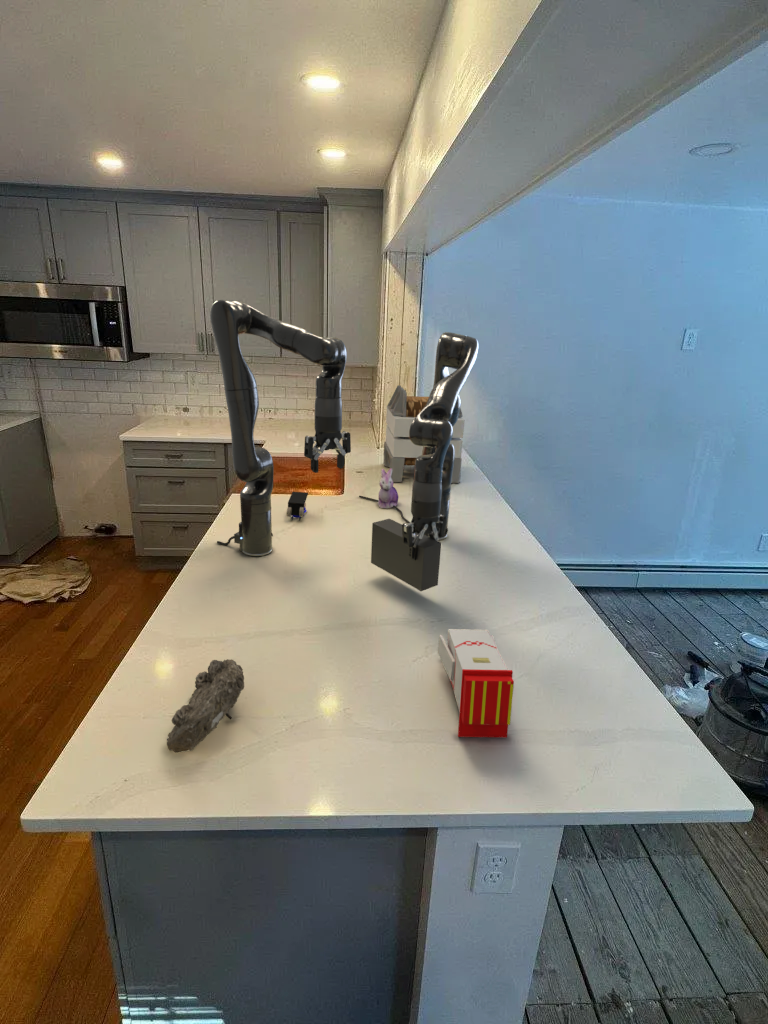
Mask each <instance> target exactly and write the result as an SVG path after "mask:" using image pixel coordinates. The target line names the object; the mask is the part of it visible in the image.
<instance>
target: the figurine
mask: <svg viewBox="0 0 768 1024" xmlns="http://www.w3.org/2000/svg"><path fill="white" fill-rule="evenodd" d="M380 474H381V475H380V476H381V478H380V480H379V487H380V490H379V491H378V500H379V501H378V502H377V505H378V507H379V508H381V509H390V508H391V509H392V508H394V507H393V505H394V506H396V507H397V506H398V503H399V494H398V490H397V489H396V488H395V487H394V482H393V481H392V478H391V475H392V468H390V467H389V469H388V471H385V469H384V468H381V470H380Z"/></svg>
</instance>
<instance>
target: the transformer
mask: <svg viewBox="0 0 768 1024" xmlns="http://www.w3.org/2000/svg"><path fill="white" fill-rule="evenodd" d="M407 394H408V393H407V390H406V389H404V388H403V387H402V385H399V384H398V385H397V386H396V388H395V390H394V392H393V394H392V395H391V398H390V400H389V402H388V404H387V405H386V413H385V414H386V415H385V423H386V428H385V438H384V442H383V466H384V467H388V468H389V469H390V468H392V475H391V478H392V481H393V483H402V482H403V475H404V469H405V466H406V467H407V466H411V467H412V466H413V467H415V460H416V458H417V457H418V456H421V455H422V450H423V446H417V445H414V444H413V443H412V442H411V440H410V437H409V429H410V426H411V424H412V422H413V420H414V419H415V417H416V416H417V415H418V414H419V413H420V412H421V410H422V409H423V408H424V407H425V406H426V404H427V401H428V398H429V396H415V395H414V396H413V395H412V396H411V395H407ZM452 428H453V436H452V439H451V442H450V444H452V445H453V446H454V449H455V458H454V466H453V472H452V482H451V484H455V483H456V484H459V483H461V472H462V461H463V460H462V453H463V442H464V441H463V440H462V439H463V438H464V431H465V430H464V429H465V419H464V418H463V411H462V408H461V407H460V411H459V416H458V420H457V422H456V423H455V425H454V426H453V427H452Z"/></svg>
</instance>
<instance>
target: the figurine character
mask: <svg viewBox="0 0 768 1024" xmlns="http://www.w3.org/2000/svg"><path fill="white" fill-rule="evenodd" d="M308 495H309V492H305V491H304V492H303V491H291V494H290V497H289V499H288V501H287V507H286V517H288V518H289V517H290V521H294V518H295V519H297V518H298V522H299V521H301V520H302V518H303V517H305V514H306V513H307V512H308V510H307V508H306V507H307V503H306V502H307V498H308Z"/></svg>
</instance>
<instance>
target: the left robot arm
mask: <svg viewBox="0 0 768 1024" xmlns="http://www.w3.org/2000/svg"><path fill="white" fill-rule="evenodd" d="M209 319H210V324H211V330H212V333H213V337H214V341H215V345H216V348H217V349H216V350H217V353H218V358H219V363H220V369H221V374H222V379H223V380H222V381H223V387H224V395H225V401H226V402H225V403H226V407H227V414H228V420H229V428H230V436H231V456H232V465H233V470H234V473H235V475H236V476H237V478H238V479H239V480H240V481H241V482H244V483H245V485H244V486H243V487H242V489H241V490H240V492H239V501H240V502H239V503H240V522H239V523H238V531H237V532H235V533H234V534H233V536H231V537H229V539H228V540H227V542H222V541H220V540H216V543H217V544H219V545H222V546H229V545H230V543H231V541H232V540H234V544H237V545H239V551H240V552H242V553H243V555H246V556H249V557H263V556H266V555H269V554H271V553H272V552H273V537H274V534H273V531H272V530H273V528H272V526H273V525H272V493H273V489H274V473H275V472H274V470H275V469H274V466H275V465H274V460H273V456H272V453H270V451H269V450H268V449H267V448H265V447H262V446H256V447H255V441H254V440H255V439H254V431H255V430H254V429H255V426H256V421H257V417H258V413H259V407H260V399H259V398H260V397H259V392H258V385H257V380H256V377H255V375H254V374H253V371H252V369H251V368H250V366H249V365H248V362H246V359H245V358H244V355H243V353H242V350H241V345H240V338H239V335H242V334H243V335H251V336H256V337H260V338H263V339H265V340H267V341H268V342H270V343H271V344H273V345H274V346H276V347H277V348H280V349H282V350H284V351H287V352H290V353H293V354H295V355H298V356H301V357H302V358H303V359H306V360H307V361H309V362H311V363H313V364H316V365H319V366H322V367H321V372H320V374H318V375H317V377H316V378H315V399H314V432H315V434H314V436H309V435H305V436H304V451H303V456H304V458H308V459H310V470H311V472H313V473H314V474H318V473H319V457H320V456H321V455H322V454H323V453H324V451H329V450H335V452H336V453H337V455H336V467H337V468H338V469H340V470H341V469H344V466H345V462H346V461H345V459H346V455H347V454H350V453H351V450H352V446H351V445H352V444H351V442H352V441H351V439H352V438H351V432H348V431H345V430H343V431H342V429H343V401H342V387H343V386H342V380H343V377H344V373H345V369H346V363H347V355H348V353H347V347H346V345H345V343H344V341H343V340H342V339H341V338H339V337H321V336H319V335H316V334H313V332H311V331H310V330H308V329H306V328H303V327H301V326H298V325H295V324H292V323H289V322H287V321H283V320H280V319H277V318H275V317H272V316H269V315H268V314H265V313H263V312H262V311H260V310H258V309H257V308H254V307H252V306H250V305H249V304H248V303H245V302H244V301H241V300H239V299H218V300H216V301H214V303H212V306H211V308H210V313H209ZM341 431H342V432H341ZM340 441H341V442H340Z"/></svg>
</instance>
